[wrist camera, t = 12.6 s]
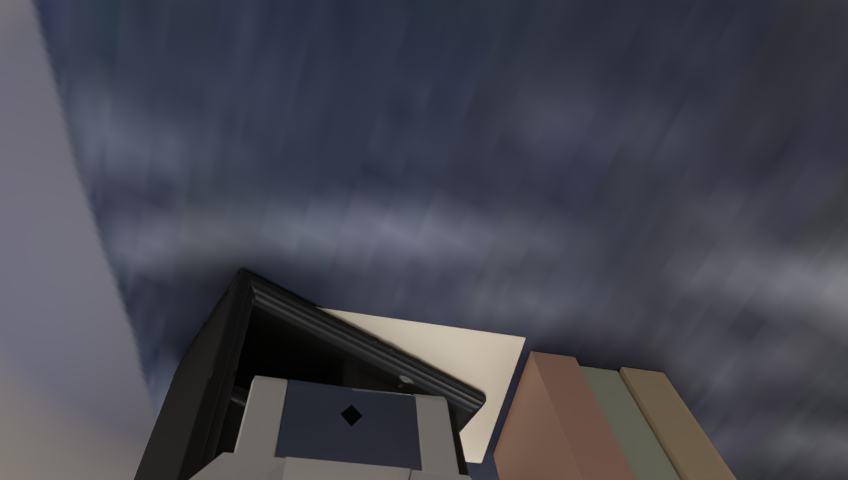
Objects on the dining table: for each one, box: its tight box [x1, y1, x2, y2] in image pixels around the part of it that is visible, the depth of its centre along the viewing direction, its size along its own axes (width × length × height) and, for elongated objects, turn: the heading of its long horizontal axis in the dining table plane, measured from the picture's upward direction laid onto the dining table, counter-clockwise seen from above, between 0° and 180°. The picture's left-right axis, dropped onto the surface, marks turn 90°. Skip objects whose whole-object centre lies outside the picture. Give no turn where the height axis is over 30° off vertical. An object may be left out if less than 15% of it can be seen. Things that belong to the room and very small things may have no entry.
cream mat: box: [317, 307, 526, 463], centre depth 53 cm, size 24×14×1 cm, turn 77°
